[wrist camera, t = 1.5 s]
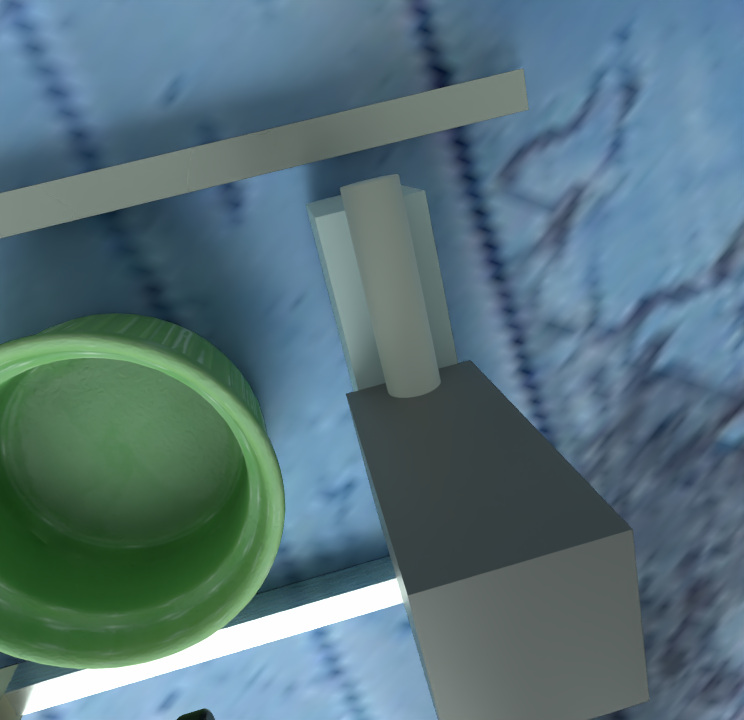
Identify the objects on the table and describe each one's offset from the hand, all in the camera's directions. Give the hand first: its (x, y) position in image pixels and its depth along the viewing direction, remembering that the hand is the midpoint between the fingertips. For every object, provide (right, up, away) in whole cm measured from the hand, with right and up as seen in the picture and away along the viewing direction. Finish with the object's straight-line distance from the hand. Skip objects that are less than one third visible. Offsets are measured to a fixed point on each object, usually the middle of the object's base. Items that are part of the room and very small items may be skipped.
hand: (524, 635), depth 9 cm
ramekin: (-9, +2, +10) cm, 14 cm away
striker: (-2, +3, +10) cm, 11 cm away
